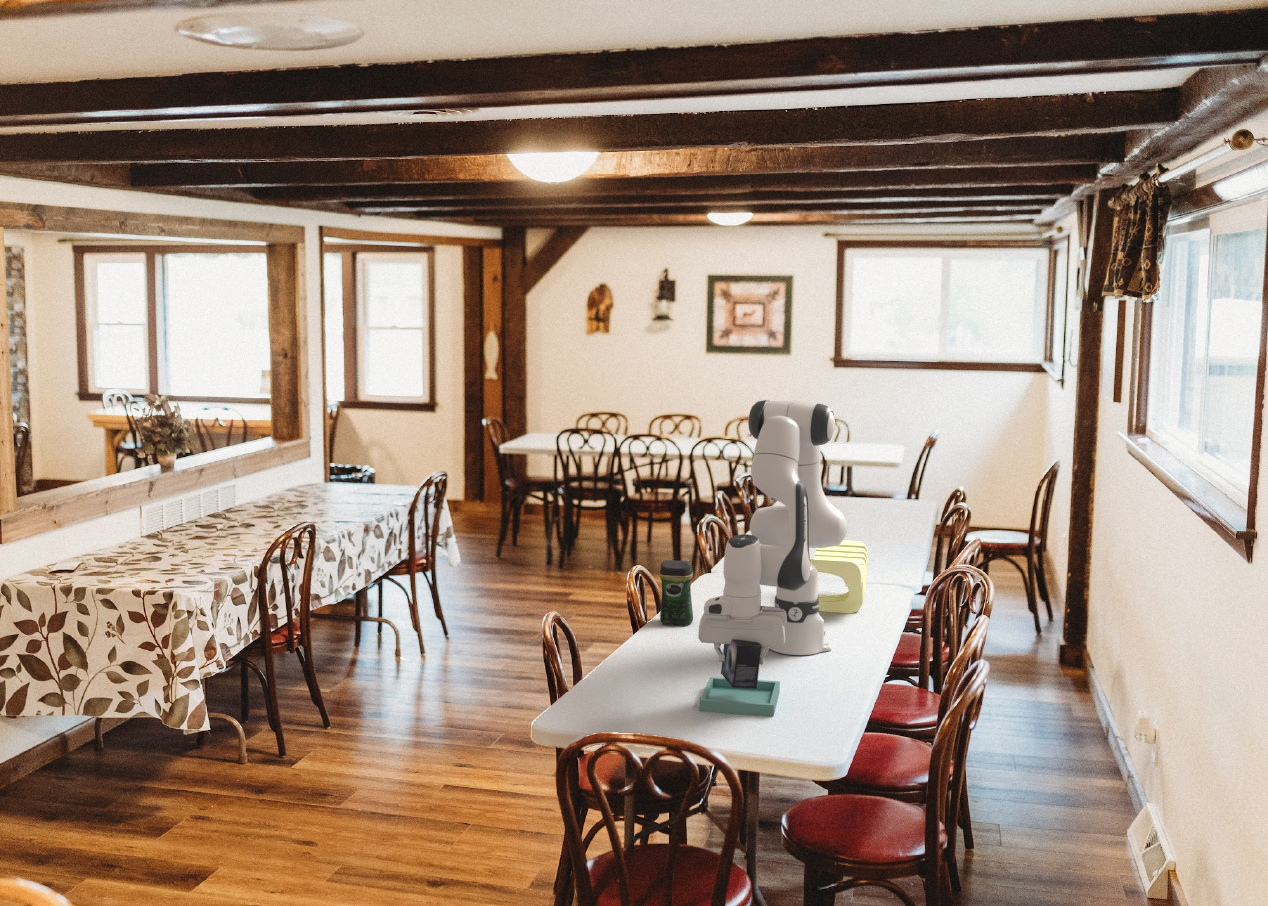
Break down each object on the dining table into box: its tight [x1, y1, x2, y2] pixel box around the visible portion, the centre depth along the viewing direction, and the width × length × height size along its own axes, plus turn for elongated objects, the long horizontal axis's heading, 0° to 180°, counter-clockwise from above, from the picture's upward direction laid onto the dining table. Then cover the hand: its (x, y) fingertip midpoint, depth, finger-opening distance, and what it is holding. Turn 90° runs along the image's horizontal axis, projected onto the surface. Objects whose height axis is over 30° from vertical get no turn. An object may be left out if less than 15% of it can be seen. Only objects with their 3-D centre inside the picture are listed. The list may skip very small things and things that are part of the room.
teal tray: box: [699, 676, 781, 717], centre depth 276 cm, size 17×17×3 cm
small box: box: [720, 639, 762, 689], centre depth 274 cm, size 11×6×10 cm, turn 12°
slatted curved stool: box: [810, 539, 869, 614], centre depth 359 cm, size 30×16×18 cm, turn 165°
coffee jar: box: [659, 559, 694, 627], centre depth 341 cm, size 10×8×19 cm
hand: (741, 662), depth 275 cm, fingers closed on small box, 8 cm apart
